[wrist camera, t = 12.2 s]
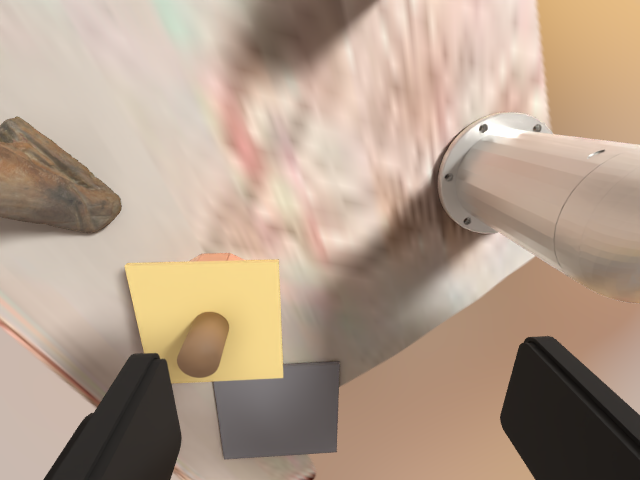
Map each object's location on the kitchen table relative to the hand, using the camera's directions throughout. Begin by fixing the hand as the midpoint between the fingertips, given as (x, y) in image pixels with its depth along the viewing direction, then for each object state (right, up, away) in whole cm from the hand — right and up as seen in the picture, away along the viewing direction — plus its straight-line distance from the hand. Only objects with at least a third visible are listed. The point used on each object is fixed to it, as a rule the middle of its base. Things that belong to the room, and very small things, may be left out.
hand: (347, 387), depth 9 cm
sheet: (-12, -5, +26) cm, 29 cm away
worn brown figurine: (-26, +10, +25) cm, 37 cm away
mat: (-6, -19, +38) cm, 43 cm away
